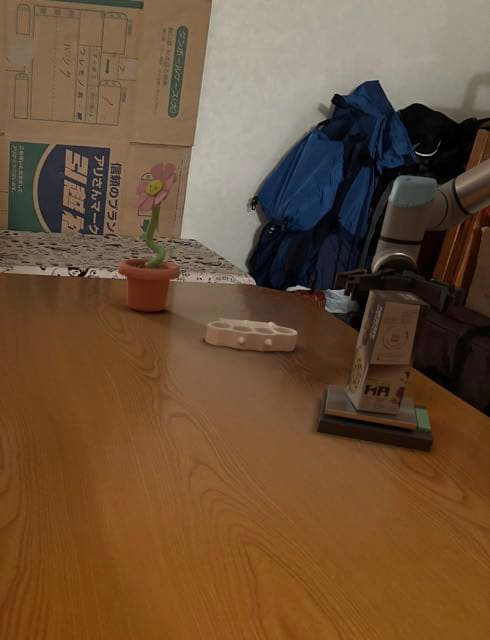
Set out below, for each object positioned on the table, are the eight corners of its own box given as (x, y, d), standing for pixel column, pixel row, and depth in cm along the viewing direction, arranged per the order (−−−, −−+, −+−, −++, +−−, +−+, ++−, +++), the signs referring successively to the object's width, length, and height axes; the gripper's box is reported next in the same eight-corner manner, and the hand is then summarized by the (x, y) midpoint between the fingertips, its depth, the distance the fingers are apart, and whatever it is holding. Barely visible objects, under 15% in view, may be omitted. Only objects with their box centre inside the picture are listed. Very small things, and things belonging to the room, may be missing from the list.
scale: (422, 416, 125) (426, 403, 124) (429, 452, 112) (434, 437, 111) (322, 399, 129) (325, 386, 128) (317, 431, 115) (320, 417, 114)
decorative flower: (101, 301, 179) (113, 156, 164) (151, 298, 185) (167, 159, 170) (134, 317, 167) (151, 164, 153) (186, 314, 174) (207, 167, 159)
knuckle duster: (284, 336, 163) (300, 356, 151) (200, 329, 163) (208, 349, 150) (288, 320, 162) (304, 339, 149) (202, 313, 161) (211, 331, 148)
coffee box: (399, 415, 115) (432, 305, 107) (355, 411, 115) (385, 300, 107) (384, 395, 123) (413, 291, 115) (343, 391, 123) (369, 287, 115)
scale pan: (410, 405, 123) (412, 398, 123) (415, 432, 113) (417, 424, 112) (327, 391, 126) (329, 384, 126) (323, 416, 116) (325, 408, 115)
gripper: (462, 307, 138) (477, 334, 120) (319, 287, 143) (313, 310, 125) (476, 263, 134) (493, 284, 116) (328, 245, 140) (324, 262, 122)
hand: (400, 298), depth 121 cm, fingers open, 13 cm apart
